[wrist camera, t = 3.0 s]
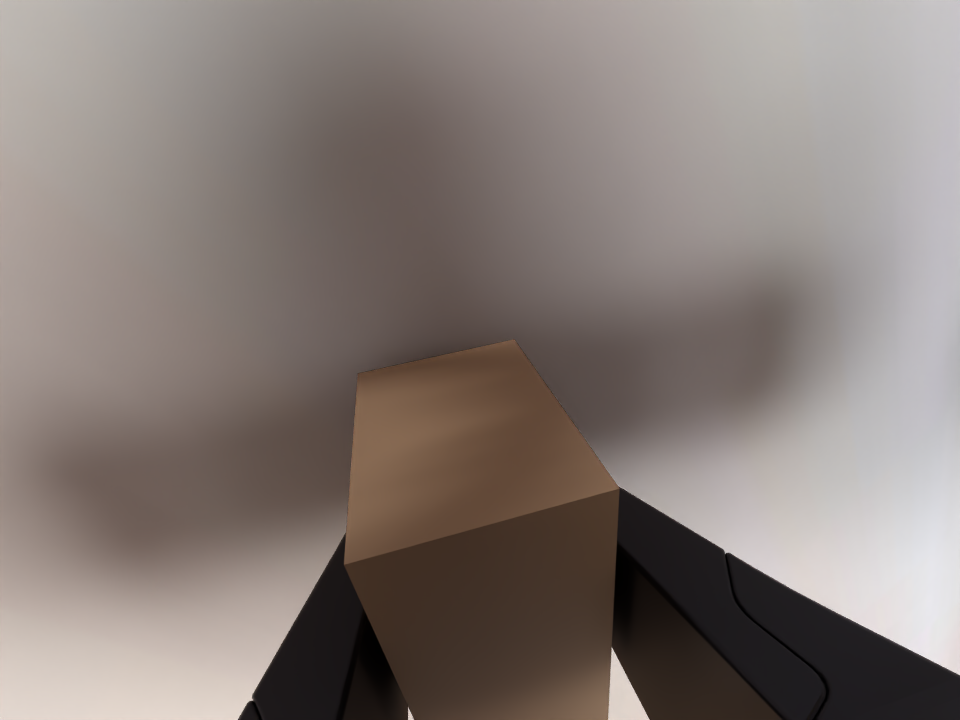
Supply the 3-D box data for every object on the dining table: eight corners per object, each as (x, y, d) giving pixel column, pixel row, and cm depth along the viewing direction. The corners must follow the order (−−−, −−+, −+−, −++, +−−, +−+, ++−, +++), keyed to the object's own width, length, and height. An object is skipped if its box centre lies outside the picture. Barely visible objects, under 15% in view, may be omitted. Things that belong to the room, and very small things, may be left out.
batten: (513, 339, 8) (619, 488, 5) (553, 737, 17) (599, 891, 13) (357, 373, 8) (343, 565, 4) (481, 762, 16) (509, 928, 13)
